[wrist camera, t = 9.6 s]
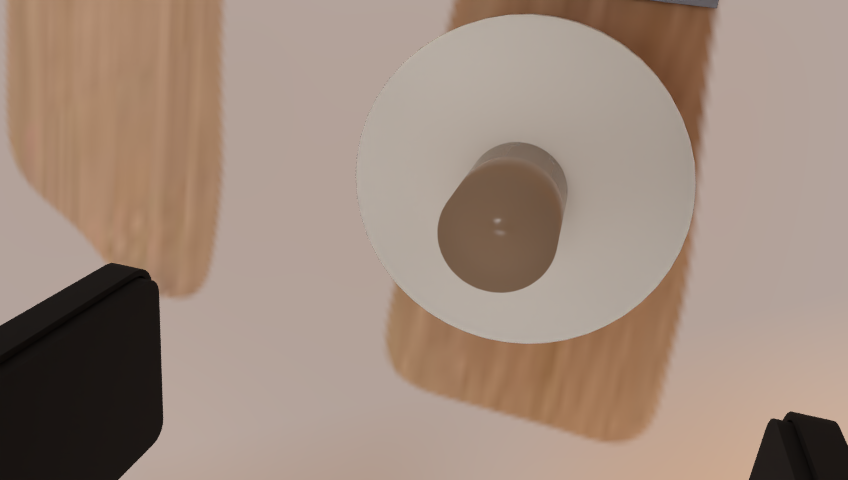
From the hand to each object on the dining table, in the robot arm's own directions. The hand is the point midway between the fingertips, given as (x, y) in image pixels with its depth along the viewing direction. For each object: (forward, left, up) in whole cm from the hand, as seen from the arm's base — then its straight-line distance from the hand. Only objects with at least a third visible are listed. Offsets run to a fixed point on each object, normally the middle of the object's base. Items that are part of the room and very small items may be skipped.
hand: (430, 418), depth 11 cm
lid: (0, 0, -15) cm, 15 cm away
